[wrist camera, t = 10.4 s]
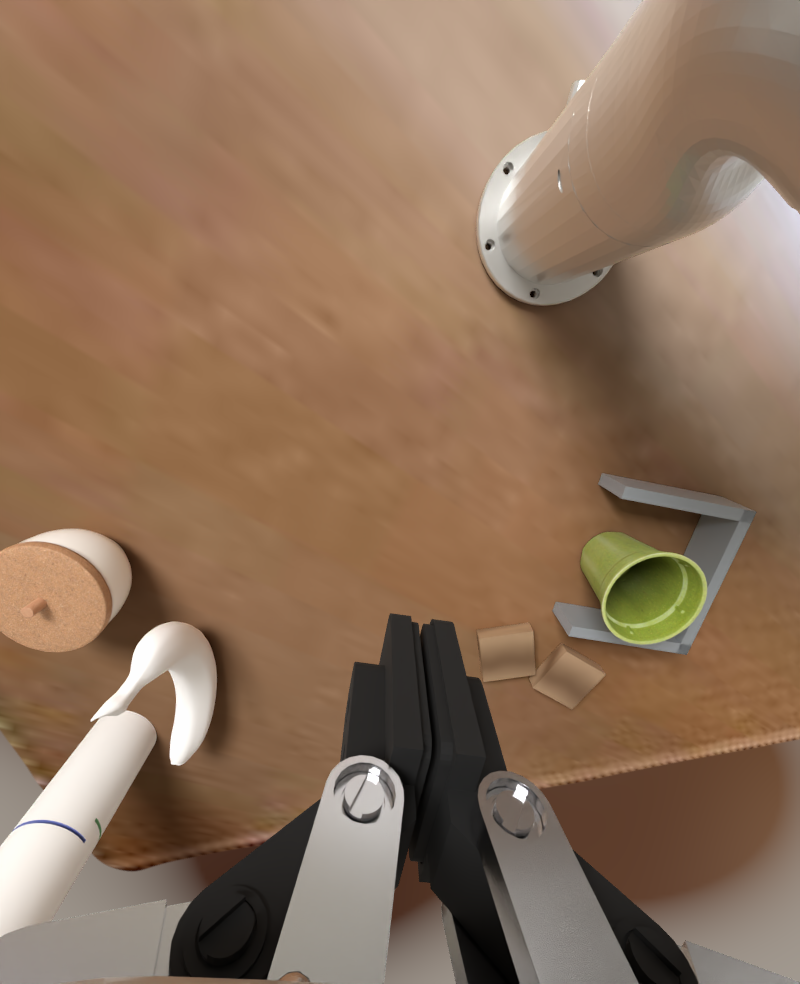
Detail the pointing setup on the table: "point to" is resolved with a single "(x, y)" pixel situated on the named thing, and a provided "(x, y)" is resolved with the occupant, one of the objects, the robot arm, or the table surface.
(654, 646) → the u-shaped fence
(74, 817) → the cylindrical container
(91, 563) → the lidded jar
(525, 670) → the tile
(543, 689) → the tile
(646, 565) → the plant pot
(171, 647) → the white curved piece
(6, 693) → the table surface
